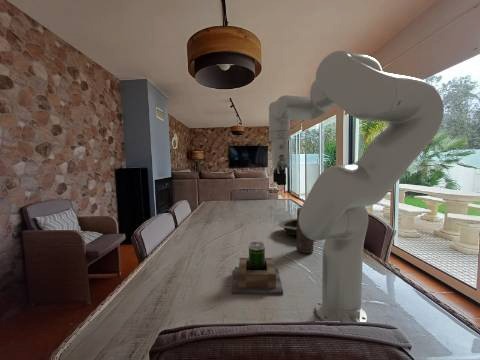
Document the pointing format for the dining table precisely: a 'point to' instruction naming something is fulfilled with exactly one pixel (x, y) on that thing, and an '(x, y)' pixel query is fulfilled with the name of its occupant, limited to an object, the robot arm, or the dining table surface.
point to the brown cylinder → (302, 239)
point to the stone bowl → (289, 226)
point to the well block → (256, 279)
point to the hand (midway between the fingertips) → (279, 183)
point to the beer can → (256, 256)
